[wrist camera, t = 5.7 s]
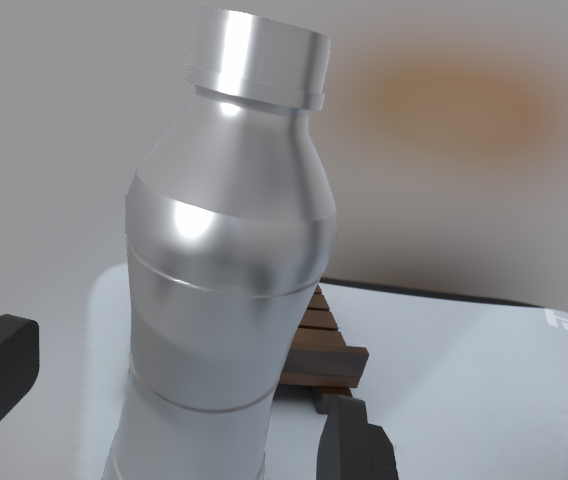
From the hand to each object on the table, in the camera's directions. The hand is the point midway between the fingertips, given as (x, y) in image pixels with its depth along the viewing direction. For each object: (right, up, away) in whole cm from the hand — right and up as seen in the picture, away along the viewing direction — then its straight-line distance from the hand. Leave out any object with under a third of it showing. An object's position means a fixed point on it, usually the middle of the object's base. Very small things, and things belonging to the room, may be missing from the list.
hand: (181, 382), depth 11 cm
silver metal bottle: (-2, -9, +8) cm, 12 cm away
